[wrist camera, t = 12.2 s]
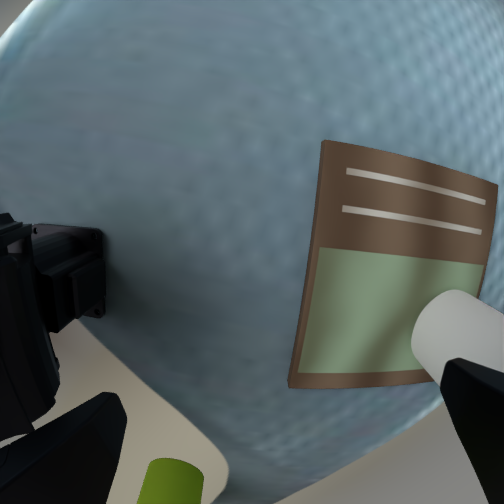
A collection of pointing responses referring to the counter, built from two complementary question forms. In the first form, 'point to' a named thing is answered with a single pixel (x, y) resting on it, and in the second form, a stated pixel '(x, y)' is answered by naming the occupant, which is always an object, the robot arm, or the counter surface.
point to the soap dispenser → (171, 483)
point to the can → (458, 333)
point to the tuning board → (384, 263)
